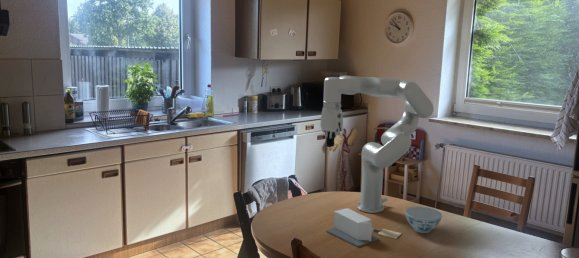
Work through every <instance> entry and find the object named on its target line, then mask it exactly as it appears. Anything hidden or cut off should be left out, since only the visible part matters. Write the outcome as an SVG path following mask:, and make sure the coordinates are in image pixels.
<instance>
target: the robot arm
mask: <svg viewBox="0 0 579 258" xmlns="http://www.w3.org/2000/svg"><path fill="white" fill-rule="evenodd" d="M323 80H324V81H323V103H322V104H323V106H322V110H321V115H320V116H321V117H320V128H321V132H323V133H324V134H325V137H326V147H328V148H333V147H335V138H336V137H337V136H341V132H342V131H343V130H344V129H343V128H344V127H343V126H344V122H343V121H344V119H343V110H342V109H341V108H342V103H341V102H342V94H343V95H350V96H351V95H352V96H353V95H356V94H363V95H368V96H371V97H378V98H395V99H403V100H405V101H404V104H403V114H402V116H401V118H400V119H399V120H398V121H397V122H395V123H394V124H393V125H392V126H391V127H390V128H388V129H387V130H385V131H384V132H383V133H382V135H381V137H380V141H381V144H380V143H377V142H374V141H369V142H368V143H365V144H364V145H363V147H362V148H361V149H362V150H361V163H362V171H361V173H362V174H361V185H360V186H361V188H360V189H361V190H360V202H359V203H357V205H356V208H357V209H358V210H359V211H360V212H363V213H369V214H377V213H378V214H379V213H382V212H384V210H385V206H384V205H383V203H385V202H388V198H387V197H383V196H382V193H383V179H384V169H386V168H388V167H391V166H392V165H393V164H394V163H395V162H397V161H398V160H399V159H400V158H402V157H403V156H404V155H405V154H406V153H407V152H409V150H410V148H411V146H412V138H411V137H410V136H411V135H412V134H414V132H416V130H417V128H418V126H419V121H420V119H427V118H429V117H431V116H432V115H433V113H434V110H435V109H434V104H433V102H432V101H431V99H430V98H429V97H428V96H427V94H426V93H425V92H424V91H423V89H422V88H421V87H420V86H419V85H418V83H416V82H415V81H412V80H407V79H404V78H403V79H401V78H389V77H388V78H387V77H375V76H374V77H373V76H359V75H358V76H357V75H355V76H354V75H340V76H339V77H335V76H329V77H325V79H323ZM382 144H383V145H382ZM382 197H383V198H382Z"/></svg>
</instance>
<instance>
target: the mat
mask: <svg viewBox="0 0 579 258" xmlns="http://www.w3.org/2000/svg"><path fill="white" fill-rule="evenodd" d="M326 233H328V234H329V235H332V236H334V237H335V238H338V239H339V240H342V241H345V242H346V243H349V244H350V245H352V246H353V247H354V246H355V247H357V248H360V247H363V246H365V245H368V244H371V243H374V242H377V241H379V240H380V238H379V237H377V236H374V235H371V241H368V240H357V239H355V238H353V237H352V236H350V235H348V234H346V233H344V232H342V231H341V230H339V229H337V228H335V227H333V228H330V229H327V230H326Z"/></svg>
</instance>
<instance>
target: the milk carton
mask: <svg viewBox="0 0 579 258" xmlns="http://www.w3.org/2000/svg"><path fill="white" fill-rule="evenodd" d="M333 213H334V217H333V228H337V229H339V230H341V231H342V232H344V233H346V234H348V235H350V236H352V237H353V238H355V239H357V240H368V241H371V235H372V234H374V231H373V230H374V228H375V227H374V226H373V224H372V219H371V218H369V217H367V216H365V215H362V214H360V213H359V212H356V211H354V210H352V209H351V208H349V207H347V208H342V209H338V210H334V212H333Z"/></svg>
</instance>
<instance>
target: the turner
mask: <svg viewBox="0 0 579 258" xmlns="http://www.w3.org/2000/svg"><path fill="white" fill-rule="evenodd" d="M373 228H374V230H373V233H374V232H375V233H377V236H380V237H385V238H390V239H392V240H393V239H394V240H397V239H398V238H399V237H400V236H401V235H402V232H398V231H394V230H390V229H387V228H381V229H380V228H377V227H373Z"/></svg>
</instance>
